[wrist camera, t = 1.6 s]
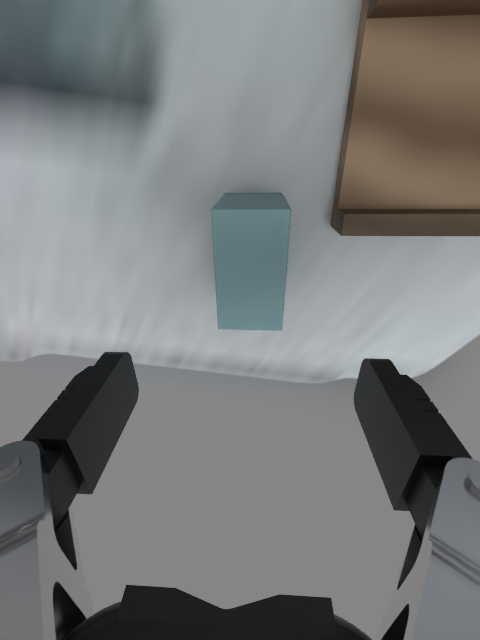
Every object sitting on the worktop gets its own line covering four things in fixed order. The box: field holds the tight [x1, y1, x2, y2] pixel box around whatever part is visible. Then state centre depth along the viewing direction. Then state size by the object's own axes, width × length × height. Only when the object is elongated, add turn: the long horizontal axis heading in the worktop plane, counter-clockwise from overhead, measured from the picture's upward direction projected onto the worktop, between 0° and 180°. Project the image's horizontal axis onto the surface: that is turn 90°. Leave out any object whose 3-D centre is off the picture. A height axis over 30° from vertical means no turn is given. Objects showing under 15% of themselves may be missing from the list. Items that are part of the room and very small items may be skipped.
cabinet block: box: [212, 193, 291, 330], centre depth 22 cm, size 8×4×8 cm, turn 1°
